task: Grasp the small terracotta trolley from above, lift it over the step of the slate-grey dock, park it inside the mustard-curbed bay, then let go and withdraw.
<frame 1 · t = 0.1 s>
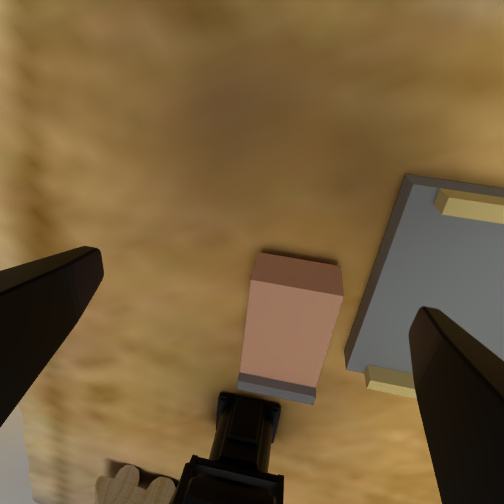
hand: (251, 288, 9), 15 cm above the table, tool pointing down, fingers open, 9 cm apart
trolley: (289, 304, 28), on the table
dock: (459, 292, 25), on the table
toy train: (166, 483, 48), on the table
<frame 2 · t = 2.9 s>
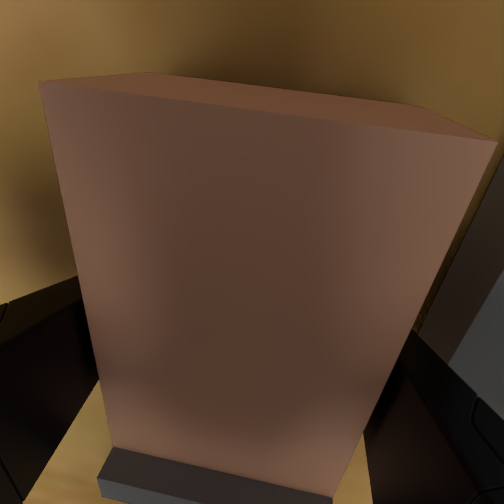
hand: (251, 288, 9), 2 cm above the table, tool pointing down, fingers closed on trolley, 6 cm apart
trolley: (259, 260, 11), on the table, touching gripper
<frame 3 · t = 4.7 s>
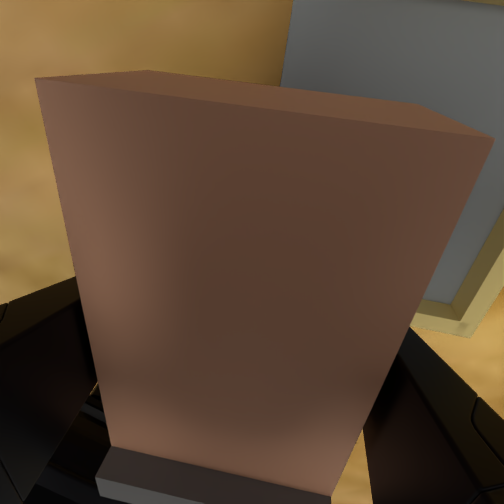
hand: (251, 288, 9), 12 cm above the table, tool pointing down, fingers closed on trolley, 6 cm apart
trolley: (258, 259, 11), point 10 cm above the table, touching gripper
dock: (390, 163, 18), on the table
when the fingers open (5 cm above the table, at t = 6.7 s): trolley drops 1 cm, resting on dock.
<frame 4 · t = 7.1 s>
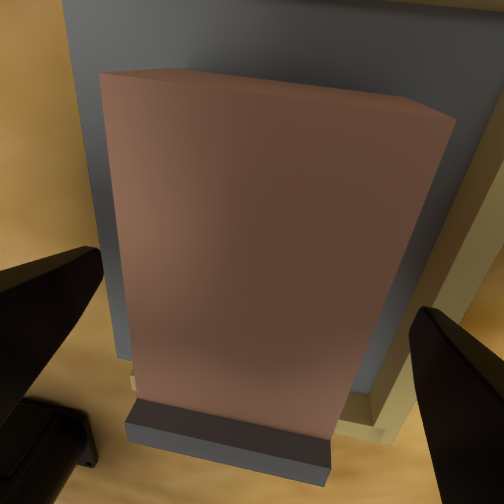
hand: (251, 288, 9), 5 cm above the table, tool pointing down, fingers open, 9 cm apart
trolley: (265, 237, 12), point 2 cm above the table, touching dock
dock: (272, 215, 14), on the table
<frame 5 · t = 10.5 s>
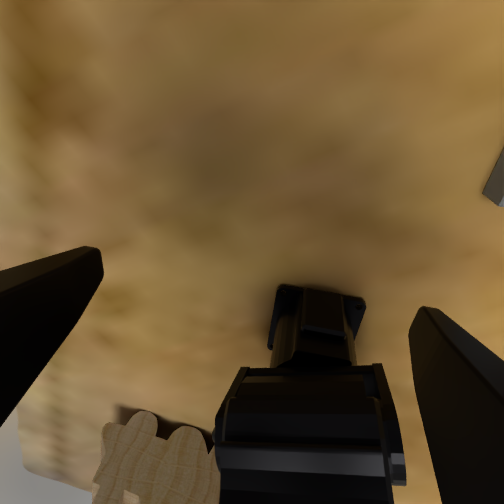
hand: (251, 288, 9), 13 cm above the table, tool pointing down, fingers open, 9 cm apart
toy train: (190, 436, 38), on the table
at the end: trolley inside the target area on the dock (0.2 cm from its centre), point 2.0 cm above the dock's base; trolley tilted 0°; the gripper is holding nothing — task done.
